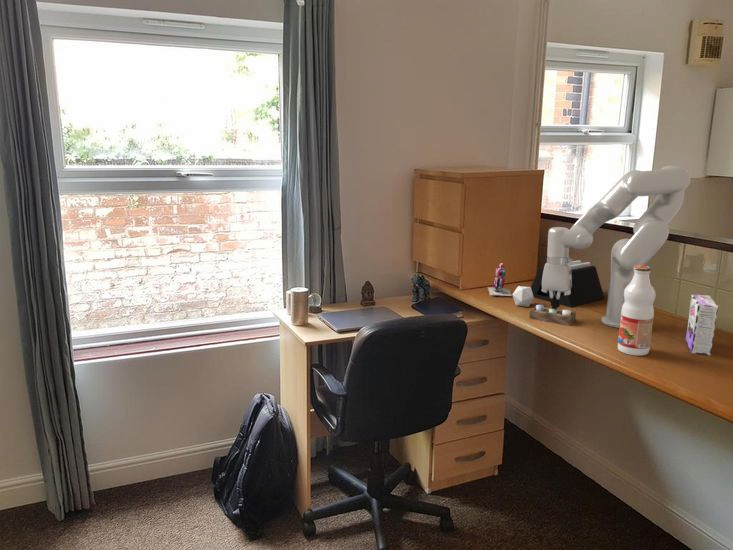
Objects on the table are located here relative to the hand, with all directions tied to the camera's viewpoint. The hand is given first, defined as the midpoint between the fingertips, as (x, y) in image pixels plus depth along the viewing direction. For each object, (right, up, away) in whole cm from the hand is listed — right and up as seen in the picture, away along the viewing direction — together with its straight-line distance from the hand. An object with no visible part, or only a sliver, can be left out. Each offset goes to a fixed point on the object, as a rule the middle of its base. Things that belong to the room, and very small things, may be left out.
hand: (555, 308), depth 218 cm
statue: (-12, +4, +38) cm, 40 cm away
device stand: (+15, +2, +32) cm, 35 cm away
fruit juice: (+15, -12, -32) cm, 37 cm away
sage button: (-1, -5, +1) cm, 5 cm away
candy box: (+38, -12, -28) cm, 49 cm away
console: (-1, -4, +1) cm, 4 cm away
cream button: (+3, -5, -2) cm, 6 cm away
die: (-7, 0, +20) cm, 21 cm away
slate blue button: (-5, -4, +4) cm, 7 cm away
